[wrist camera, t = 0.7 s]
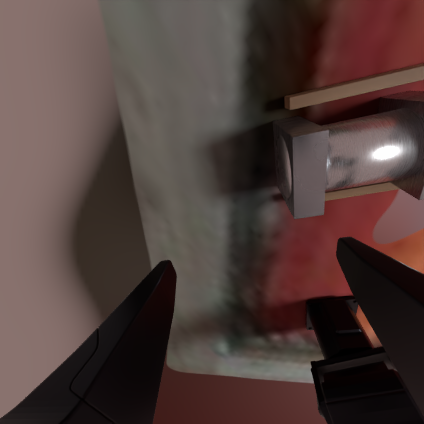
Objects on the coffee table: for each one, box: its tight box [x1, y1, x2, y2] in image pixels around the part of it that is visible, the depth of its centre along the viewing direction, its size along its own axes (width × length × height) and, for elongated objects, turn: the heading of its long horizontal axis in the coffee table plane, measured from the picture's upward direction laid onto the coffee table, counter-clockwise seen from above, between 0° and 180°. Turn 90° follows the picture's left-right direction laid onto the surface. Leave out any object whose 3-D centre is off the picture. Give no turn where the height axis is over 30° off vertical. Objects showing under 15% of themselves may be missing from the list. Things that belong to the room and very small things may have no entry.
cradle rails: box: [285, 63, 424, 201], centre depth 17 cm, size 9×15×2 cm, turn 103°
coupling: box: [273, 91, 424, 219], centre depth 15 cm, size 10×6×6 cm, turn 103°
